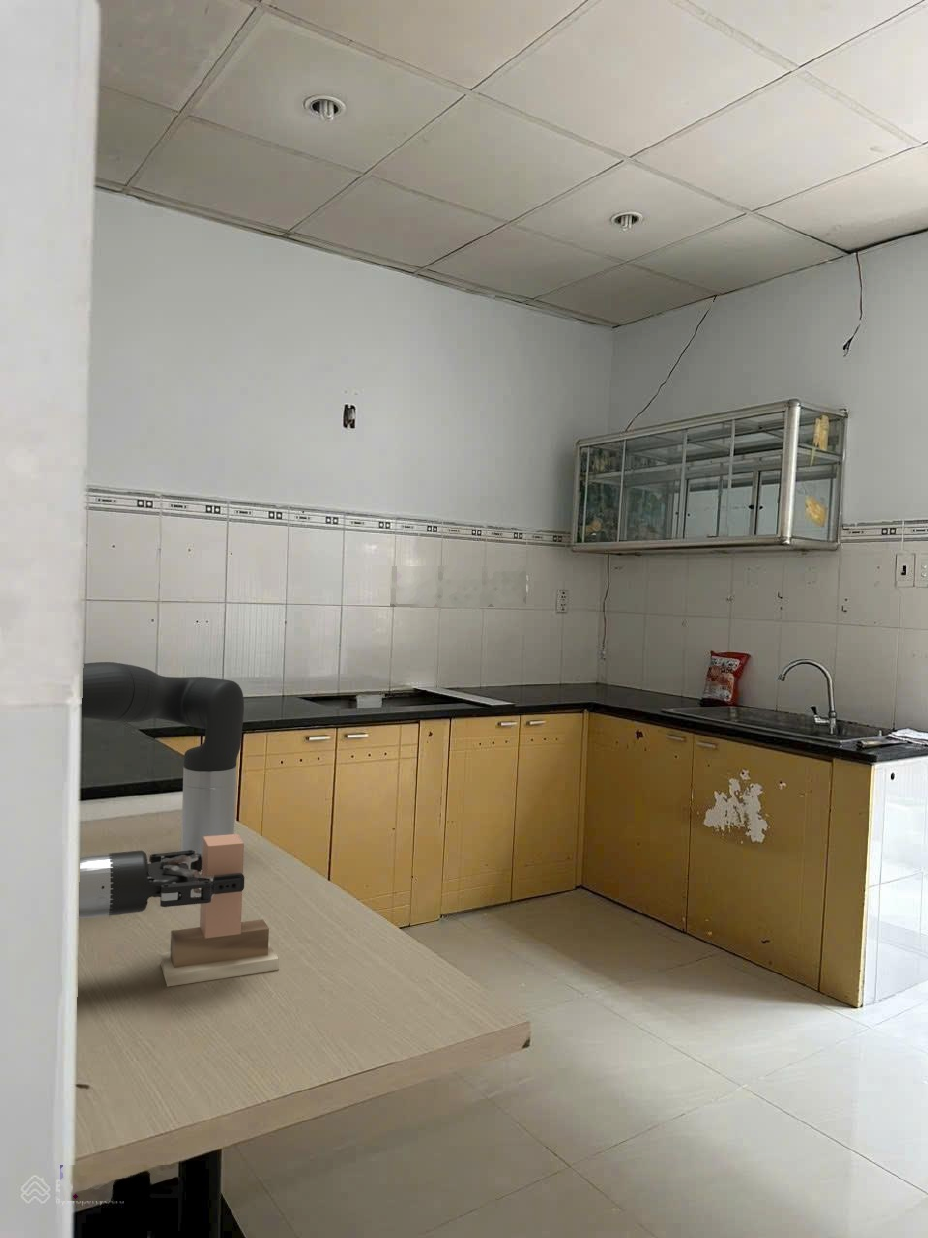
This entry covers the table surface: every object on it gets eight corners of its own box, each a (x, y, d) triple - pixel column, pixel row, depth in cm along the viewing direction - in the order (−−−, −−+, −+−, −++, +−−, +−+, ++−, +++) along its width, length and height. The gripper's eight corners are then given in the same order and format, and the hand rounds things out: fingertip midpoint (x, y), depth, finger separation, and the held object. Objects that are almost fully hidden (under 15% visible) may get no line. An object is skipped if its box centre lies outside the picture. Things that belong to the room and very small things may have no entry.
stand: (160, 964, 117) (161, 926, 117) (265, 949, 123) (267, 913, 123) (167, 986, 110) (168, 947, 110) (278, 970, 117) (279, 932, 116)
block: (199, 925, 118) (202, 836, 117) (234, 921, 119) (237, 833, 119) (205, 938, 113) (208, 846, 113) (240, 934, 115) (243, 843, 115)
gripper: (110, 872, 103) (249, 859, 110) (102, 839, 116) (227, 829, 123) (108, 935, 104) (247, 918, 111) (100, 895, 116) (225, 882, 124)
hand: (237, 871), depth 117 cm, fingers open, 8 cm apart
